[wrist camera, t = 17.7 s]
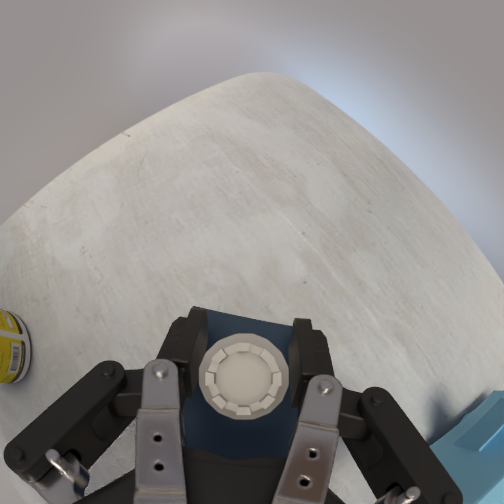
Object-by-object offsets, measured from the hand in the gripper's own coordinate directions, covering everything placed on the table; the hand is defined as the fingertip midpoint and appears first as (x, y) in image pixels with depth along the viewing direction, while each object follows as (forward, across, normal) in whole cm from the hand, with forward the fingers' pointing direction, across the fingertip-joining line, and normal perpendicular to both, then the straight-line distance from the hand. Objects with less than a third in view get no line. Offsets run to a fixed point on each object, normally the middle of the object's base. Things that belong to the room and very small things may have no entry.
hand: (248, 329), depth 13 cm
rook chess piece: (+2, 0, +4) cm, 5 cm away
